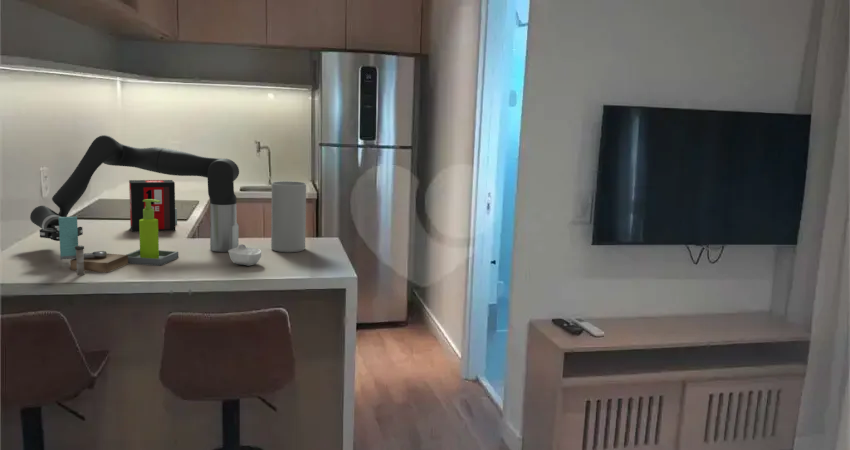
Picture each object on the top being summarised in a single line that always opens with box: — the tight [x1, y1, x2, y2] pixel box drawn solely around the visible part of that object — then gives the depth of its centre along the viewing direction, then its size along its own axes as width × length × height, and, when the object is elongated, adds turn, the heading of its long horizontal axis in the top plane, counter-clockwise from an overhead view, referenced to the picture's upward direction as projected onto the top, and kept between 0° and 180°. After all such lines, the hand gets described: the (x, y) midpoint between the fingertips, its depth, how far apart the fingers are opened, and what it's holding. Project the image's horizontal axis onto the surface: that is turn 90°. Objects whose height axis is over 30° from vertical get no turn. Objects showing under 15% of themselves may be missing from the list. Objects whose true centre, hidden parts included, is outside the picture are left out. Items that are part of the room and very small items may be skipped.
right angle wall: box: [175, 207, 178, 225], centre depth 297 cm, size 12×12×8 cm
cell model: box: [228, 243, 262, 267], centre depth 227 cm, size 10×12×7 cm
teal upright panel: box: [59, 215, 108, 261], centre depth 212 cm, size 13×4×13 cm, turn 120°
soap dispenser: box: [138, 199, 161, 259], centre depth 226 cm, size 6×7×20 cm
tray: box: [125, 248, 179, 267], centre depth 228 cm, size 14×13×2 cm
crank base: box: [69, 245, 129, 276], centre depth 213 cm, size 12×18×9 cm
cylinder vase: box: [270, 180, 307, 253], centre depth 252 cm, size 12×12×25 cm
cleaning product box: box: [128, 179, 176, 233], centre depth 279 cm, size 16×9×20 cm, turn 117°
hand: (67, 237), depth 211 cm, fingers closed
